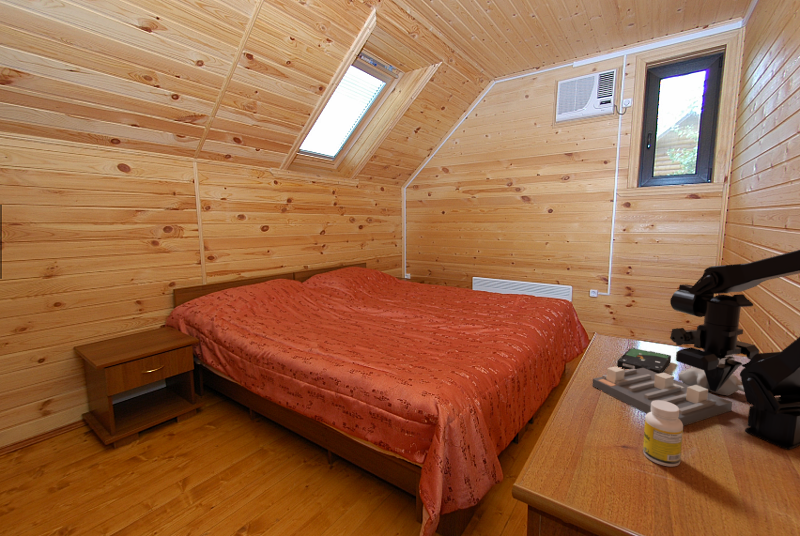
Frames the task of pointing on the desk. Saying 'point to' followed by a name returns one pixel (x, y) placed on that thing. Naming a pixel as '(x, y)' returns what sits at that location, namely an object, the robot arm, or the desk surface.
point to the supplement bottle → (663, 434)
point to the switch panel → (660, 395)
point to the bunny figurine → (699, 378)
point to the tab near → (696, 394)
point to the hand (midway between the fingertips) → (713, 390)
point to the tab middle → (663, 381)
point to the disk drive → (644, 360)
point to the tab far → (615, 374)
